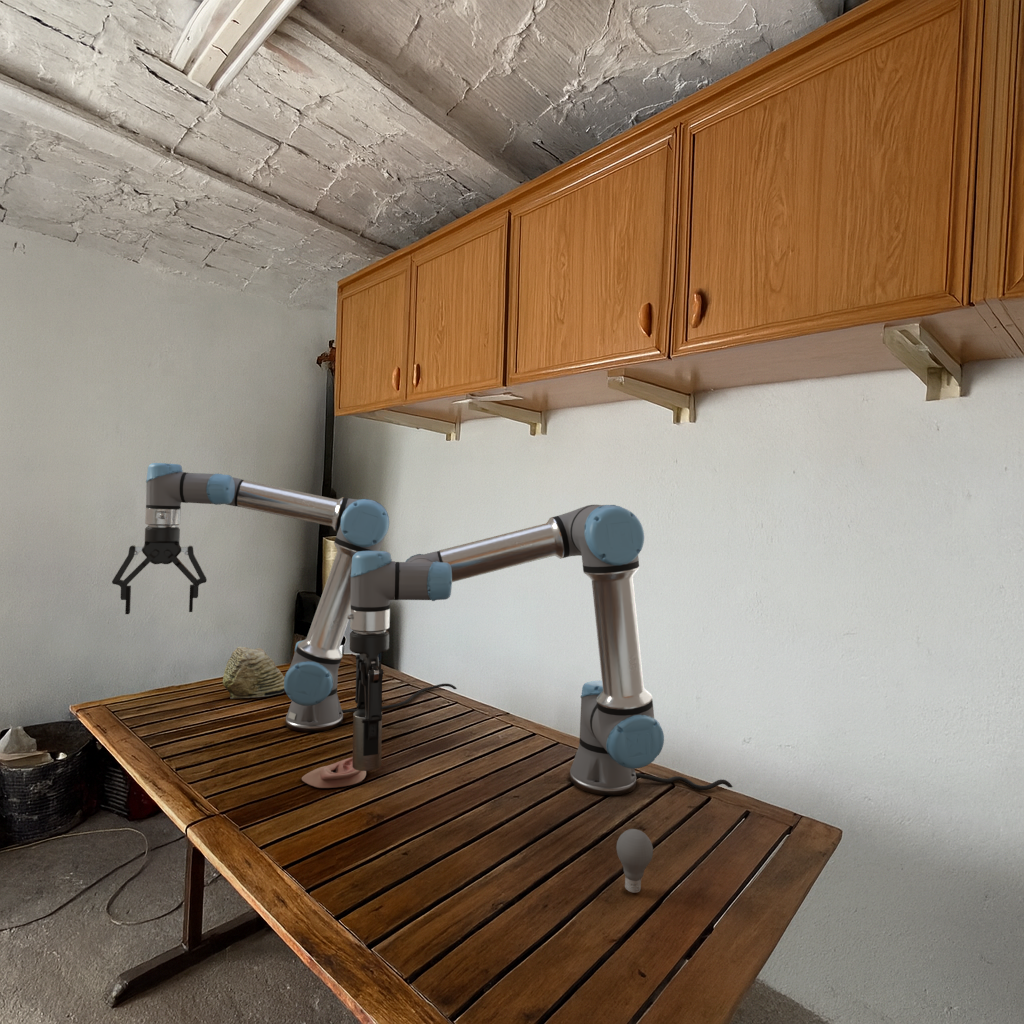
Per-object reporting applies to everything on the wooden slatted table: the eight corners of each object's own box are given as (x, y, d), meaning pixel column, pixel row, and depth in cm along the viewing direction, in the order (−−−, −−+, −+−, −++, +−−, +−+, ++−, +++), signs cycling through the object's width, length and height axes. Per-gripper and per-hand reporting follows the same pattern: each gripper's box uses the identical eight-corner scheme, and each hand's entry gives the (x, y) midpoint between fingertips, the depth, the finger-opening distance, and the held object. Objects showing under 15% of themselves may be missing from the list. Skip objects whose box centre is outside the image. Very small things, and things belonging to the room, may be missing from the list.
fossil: (218, 695, 195) (220, 647, 195) (278, 685, 208) (279, 640, 207) (228, 703, 189) (230, 653, 188) (289, 692, 201) (290, 645, 201)
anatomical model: (294, 766, 138) (320, 747, 150) (294, 784, 138) (320, 763, 150) (351, 774, 136) (373, 754, 147) (350, 792, 136) (372, 770, 147)
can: (346, 766, 123) (347, 713, 123) (367, 757, 128) (368, 706, 128) (366, 773, 120) (367, 719, 120) (386, 764, 125) (388, 712, 125)
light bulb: (610, 879, 108) (613, 822, 108) (644, 879, 109) (647, 822, 109) (619, 902, 102) (622, 840, 102) (655, 901, 103) (658, 840, 103)
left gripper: (100, 525, 147) (97, 617, 147) (219, 528, 158) (216, 612, 158) (104, 524, 153) (102, 611, 154) (218, 526, 164) (215, 607, 165)
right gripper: (341, 622, 130) (339, 734, 131) (359, 642, 113) (356, 770, 114) (378, 620, 133) (375, 729, 134) (400, 639, 117) (397, 764, 117)
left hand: (159, 612), depth 156 cm, fingers open, 13 cm apart
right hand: (367, 748), depth 124 cm, fingers closed on can, 5 cm apart
